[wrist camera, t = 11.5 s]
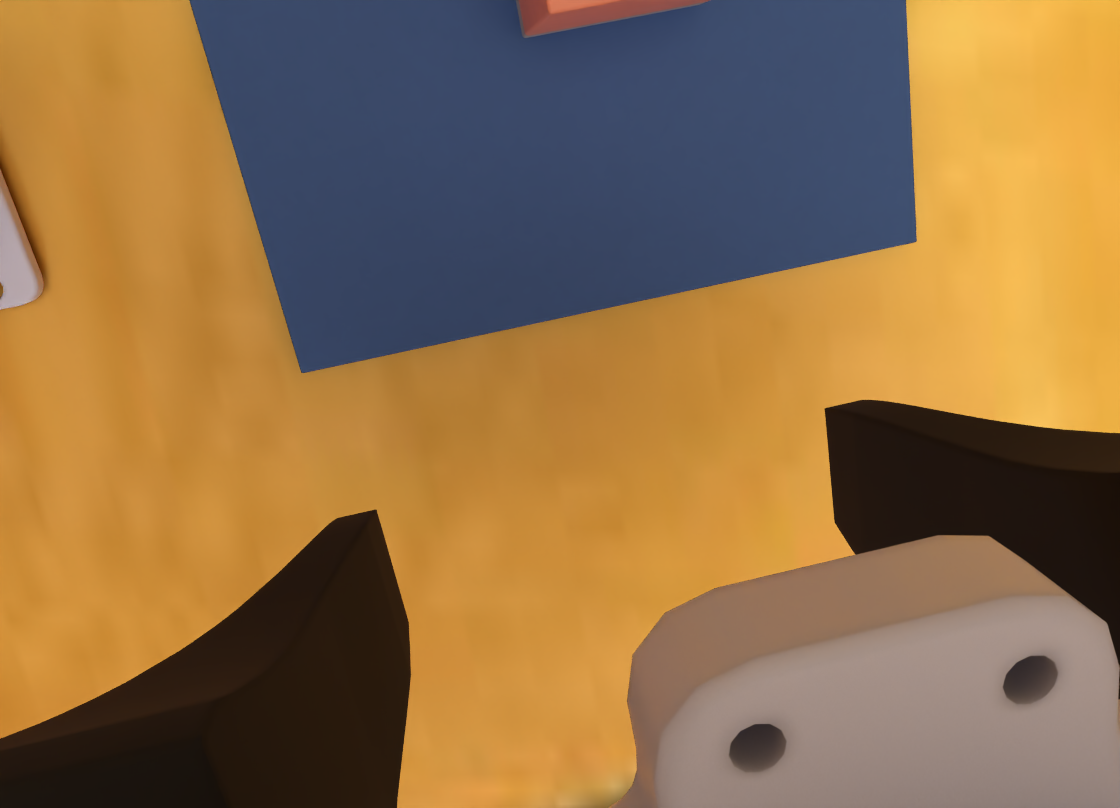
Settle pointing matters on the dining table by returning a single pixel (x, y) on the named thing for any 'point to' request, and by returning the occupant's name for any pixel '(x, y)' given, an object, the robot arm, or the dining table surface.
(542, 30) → the orange rectangular block
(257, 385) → the dining table surface
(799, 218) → the cloth
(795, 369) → the dining table surface
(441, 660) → the dining table surface
